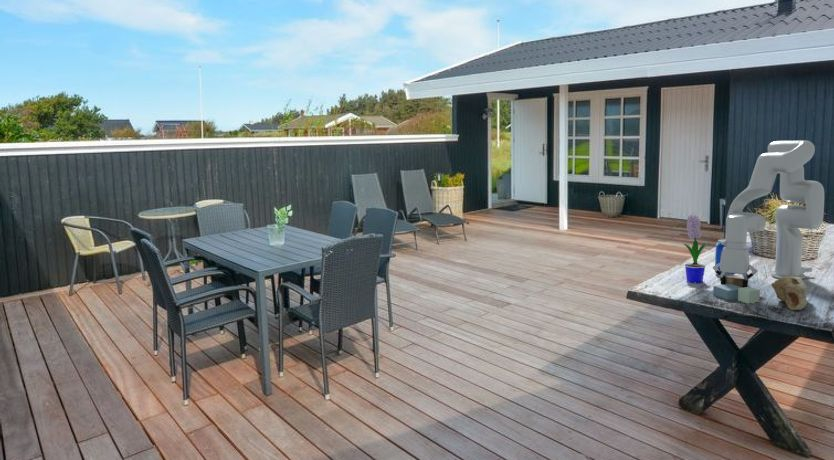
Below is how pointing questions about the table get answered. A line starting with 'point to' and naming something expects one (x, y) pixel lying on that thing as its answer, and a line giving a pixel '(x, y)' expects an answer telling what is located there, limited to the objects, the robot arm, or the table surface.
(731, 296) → the base block
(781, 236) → the robot arm
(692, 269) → the hyacinth
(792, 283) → the stone
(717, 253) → the beer can
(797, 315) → the table surface
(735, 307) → the table surface
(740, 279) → the walnut cube
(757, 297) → the sage cube
